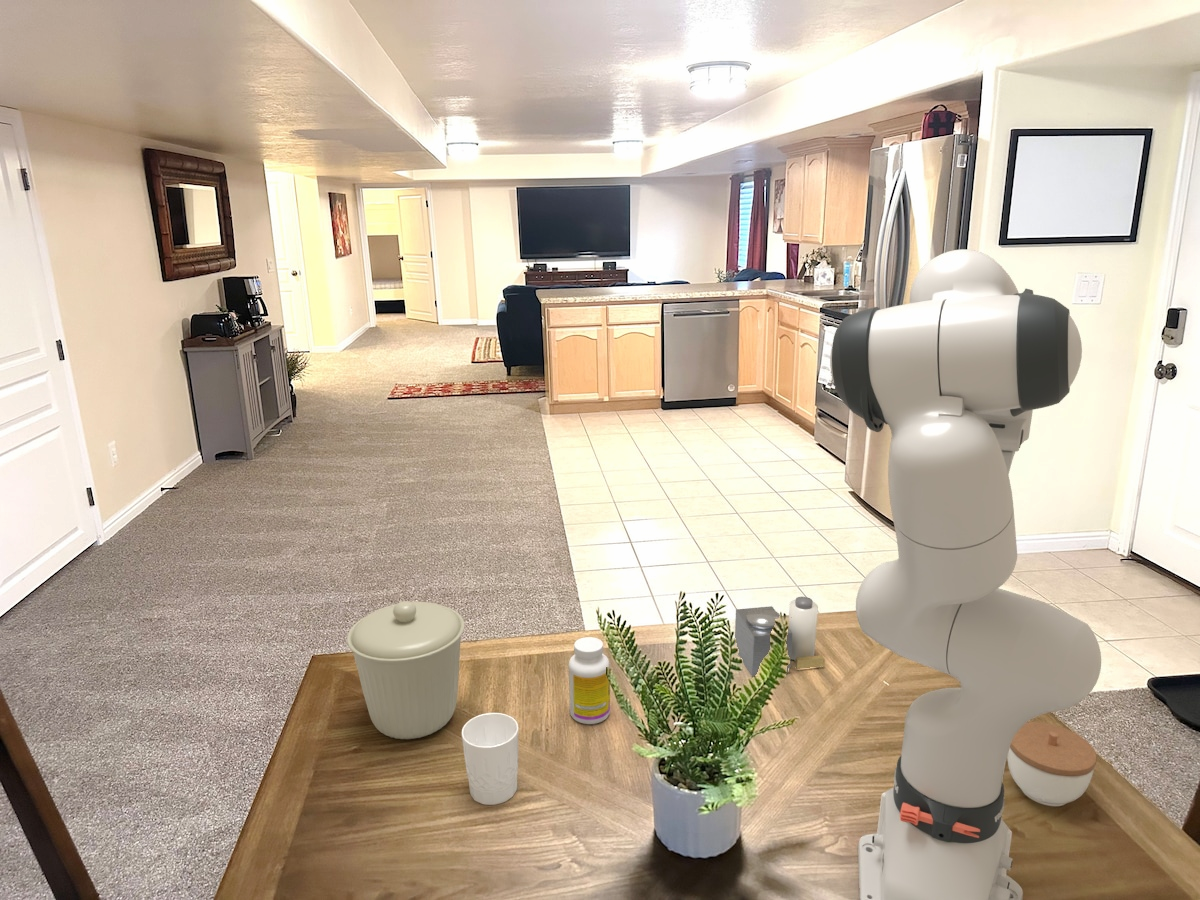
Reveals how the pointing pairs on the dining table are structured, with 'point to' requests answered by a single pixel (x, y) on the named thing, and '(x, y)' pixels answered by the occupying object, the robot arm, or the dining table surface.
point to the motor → (763, 639)
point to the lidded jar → (1051, 763)
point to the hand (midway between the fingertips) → (985, 510)
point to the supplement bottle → (589, 682)
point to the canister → (408, 666)
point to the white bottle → (803, 626)
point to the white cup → (491, 757)
